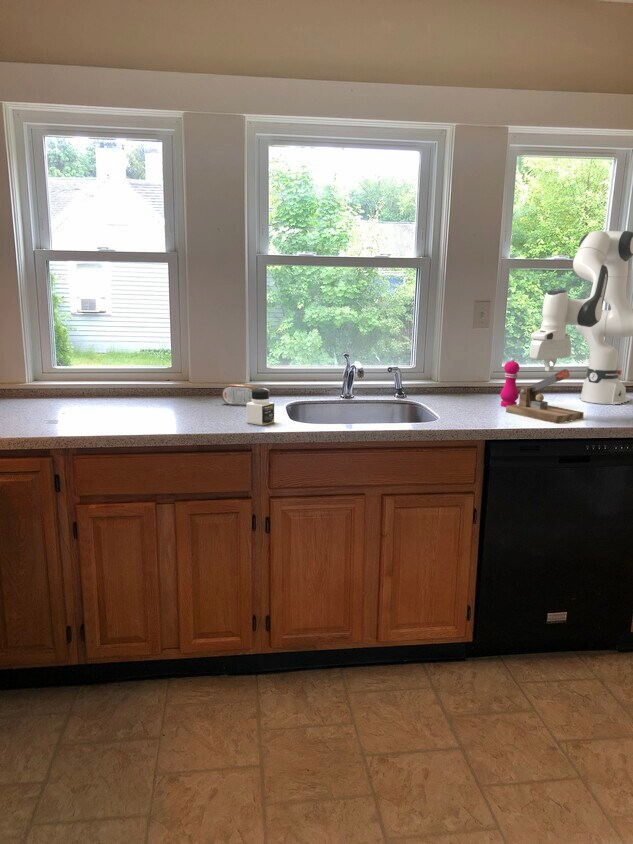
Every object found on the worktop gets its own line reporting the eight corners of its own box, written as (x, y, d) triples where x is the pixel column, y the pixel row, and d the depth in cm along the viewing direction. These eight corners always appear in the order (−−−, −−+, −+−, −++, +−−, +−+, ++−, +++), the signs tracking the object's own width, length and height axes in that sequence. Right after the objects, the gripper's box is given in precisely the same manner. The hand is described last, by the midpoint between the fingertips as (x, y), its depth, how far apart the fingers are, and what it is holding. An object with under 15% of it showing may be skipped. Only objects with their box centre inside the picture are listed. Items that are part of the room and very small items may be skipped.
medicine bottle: (262, 425, 217) (262, 391, 215) (246, 423, 221) (245, 389, 218) (274, 422, 223) (274, 388, 221) (258, 419, 227) (258, 386, 224)
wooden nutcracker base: (532, 408, 256) (534, 383, 254) (582, 418, 238) (585, 392, 235) (505, 412, 248) (508, 386, 246) (556, 423, 229) (558, 396, 227)
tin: (259, 405, 253) (259, 384, 251) (257, 406, 250) (257, 385, 248) (223, 403, 255) (223, 383, 254) (220, 405, 252) (220, 384, 251)
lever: (522, 397, 248) (519, 389, 249) (527, 396, 250) (525, 389, 251) (565, 377, 231) (562, 369, 232) (570, 376, 233) (567, 368, 233)
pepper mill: (518, 408, 256) (522, 359, 252) (500, 407, 257) (504, 358, 253) (516, 404, 263) (520, 357, 259) (498, 403, 264) (502, 356, 260)
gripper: (562, 332, 244) (559, 367, 247) (528, 334, 233) (524, 371, 236) (577, 333, 239) (573, 369, 242) (542, 335, 228) (538, 373, 231)
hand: (549, 370), depth 239 cm, fingers closed
